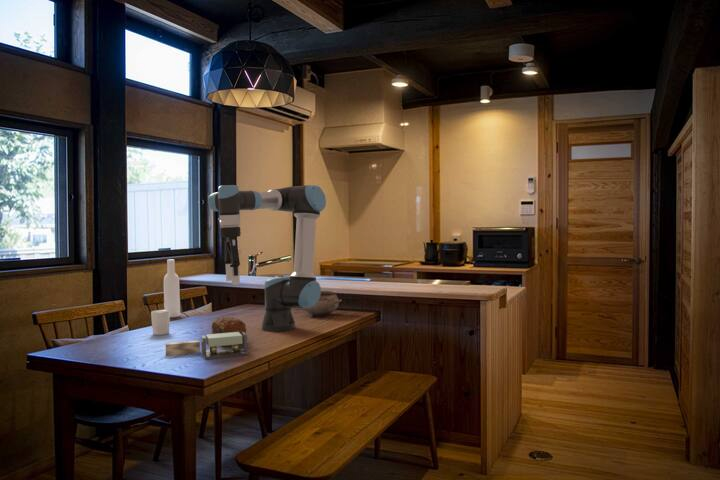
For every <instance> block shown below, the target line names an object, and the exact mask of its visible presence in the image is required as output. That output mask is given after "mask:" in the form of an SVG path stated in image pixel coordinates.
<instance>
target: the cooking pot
mask: <svg viewBox="0 0 720 480" xmlns="http://www.w3.org/2000/svg"><path fill="white" fill-rule="evenodd" d="M337 293H338V291H337V290H331V289H321V295H320V298H319V300H318V302H317V303H316V304H315V305H314V306H313V307H305V308H303V310H304V311H305V312H307V313H308V314H310V315H312V316H313V317H317V318H319V317H320V318H322V317H323V318H324V317H328V315H330V314H332V313H334V311H336V310H337V309H338V307H339V303H342V301H343V300H342V299H339V298H338V295H337Z"/></svg>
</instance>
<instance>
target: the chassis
mask: <svg viewBox="0 0 720 480" xmlns="http://www.w3.org/2000/svg"><path fill="white" fill-rule="evenodd" d="M241 335H242V345H239V344H234V345H232V346H229V347H222V348H221V347H219V348H217V347H218V346H213V347H209V349H207V343H206V335H205V334H204V335H201V336H200V337H201V339H200V341H201V342H200V347H201V354H202V356H203V358H204V360H205V361H206V360H207V361H208V360H214V359H215V360H217V359H224V358H237V357H245V356H249V353H248V336H247V332H246V333H245V332H241Z"/></svg>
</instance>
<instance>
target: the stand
mask: <svg viewBox="0 0 720 480" xmlns="http://www.w3.org/2000/svg"><path fill="white" fill-rule="evenodd" d="M200 341H201V340H188V341H187V340H186V341H176V342H168V343H167V342H165V356H168V357H169V356H177V355H186V354H187V355H189V354H197V353H201V342H200Z"/></svg>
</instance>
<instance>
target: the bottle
mask: <svg viewBox="0 0 720 480" xmlns="http://www.w3.org/2000/svg"><path fill="white" fill-rule="evenodd" d="M166 261H167V262H166V264H167V265H166V268H167V273H165V275H164V277H163V305H164V309H163V310H170V318H178V317H181V301H180V300H181V297H180V296H181V295H180V277H179V275H178V274H177V273H176V269H175V268H176V266H175V263H176V262H175V259H173V258H172V259H171V258H169V259H167V260H166Z"/></svg>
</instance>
